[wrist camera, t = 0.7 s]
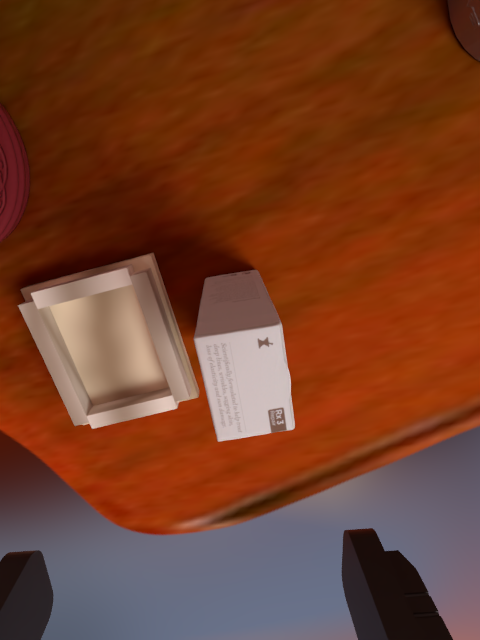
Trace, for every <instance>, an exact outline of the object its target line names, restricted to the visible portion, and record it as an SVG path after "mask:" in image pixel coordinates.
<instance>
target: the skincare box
mask: <svg viewBox="0 0 480 640" xmlns="http://www.w3.org/2000/svg"><path fill="white" fill-rule="evenodd" d="M194 343H195V347H196V351H197V355H198V359H199V363H200V368H201V372H202V376H203V380H204V385H205V389H206V394H207V398H208V402H209V407H210V411H211V415H212V419H213V424H214V428H215V432H216V436H217V441H225V440H232V439H238V438H245V437H251V436H256V435H262V434H269V433H274V432H280V431H286V430H293V429H294V428H295V422H294V414H293V406H292V398H291V381H290V373H289V370H288V367H287V358H286V351H285V343H284V337H283V329H282V323H281V321H280V319H279V316H278V314H277V312H276V309H275V307H274V305H273V303H272V301H271V299H270V297H269V295H268V292H267V290H266V288H265V285H264V283H263V281H262V279H261V277H260V274H259V272H258V271H257V270H250V271H244V272H238V273H231V274H225V275H219V276H213V277H208V278H206V279H205V281H204V286H203V292H202V298H201V303H200V308H199V314H198V320H197V327H196V331H195V335H194Z"/></svg>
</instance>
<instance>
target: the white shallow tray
mask: <svg viewBox="0 0 480 640" xmlns="http://www.w3.org/2000/svg"><path fill="white" fill-rule="evenodd" d="M20 290H21V292H22V295H23V297H24V299H25V301H26V302H24V303H22V304H20V305H18V306H19V309H20V311H21V313H22V315H23V317H24V319H25V321H26V323H27V326H28V328H29V330H30V332H31V334H32V336H33V338H34V340H35V342H36V345H37V347H38V349H39V351H40V353H41V355H42V357H43V359H44V362H45V364H46V366H47V368H48V370H49V372H50V374H51V376H52V379H53V381H54V383H55V385H56V387H57V389H58V391H59V393H60V396H61V398H62V400H63V402H64V404H65V406H66V408H67V410H68V412H69V415H70V417H71V419H72V421H73V423H74V425H75V426H77V425H81V424H83V425H86V424H90V425H91V427H92V429H94V428H98V427H102V426H106V425H110V424H114V423H119V422H123V421H127V420H131V419H135V418H139V417H144V416H148V415H152V414H156V413H160V412H164V411H169V410H173V409H177V407H178V403H179V402H181V401H185V400H189V399H194V398H198V397H199V389H198V386H197V383H196V379H195V376H194V373H193V370H192V367H191V364H190V361H189V358H188V355H187V352H186V349H185V346H184V343H183V340H182V337H181V334H180V331H179V328H178V325H177V322H176V319H175V316H174V313H173V310H172V307H171V304H170V301H169V298H168V295H167V292H166V289H165V286H164V283H163V280H162V277H161V274H160V271H159V268H158V265H157V262H156V259H155V256H154V253H150V254H146V255H143V256H139V257H135V258H131V259H128V260H124V261H120V262H116V263H112V264H109V265H105V266H101V267H97V268H94V269H90V270H86V271H82V272H79V273H75V274H71V275H67V276H64V277H60V278H56V279H52V280H49V281H45V282H41V283H37V284H34V285H30V286H27V287H24V288H22V289H20Z"/></svg>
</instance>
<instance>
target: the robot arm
mask: <svg viewBox="0 0 480 640" xmlns="http://www.w3.org/2000/svg"><path fill="white" fill-rule="evenodd" d="M448 9H449V15H450V21H451V24H452V26H453V29H454V32H455V34H456V37H457V38H458V40H459V41H460V43H461V44H462V46H463V47H464V49H465V50H466V51H467V52H468V53H470V54H471V55H472V56H473V57H474V58H475V59H477V60H479V61H480V0H448ZM342 555H343V556H342V581H343V588H344V593H345V597H346V601H347V604H348V608H349V611H350V614H351V617H352V621H353V624H354V627H355V631H356V634H357V637H358V640H453V639H452V637H451V635H450V633H449V631H448V629H447V627H446V625H445V623H444V621H443V619H442V618H441V616H439V614H438V610H437V608H436V606H435V604H434V602H433V600H432V598H431V597H430V596H429V595H428V591H427V589H426V587H425V585H424V583H423V581H422V579H421V577H420V575H419V573H418V572H417V570H416V568H415V567H414V566H413V565H412V564H411V563H410V562H409V561H408V560H407V559H406V558H405V557H404V556H403V555H402V554H401V553H400V552H399V551H398V550H397V551H384V549H383V546H382V544H381V542H380V540H379V538H378V536H377V534H376V532H375V531H374V530H373V529H372V528H370V529H357V530H345V531H344V535H343V554H342ZM52 606H53V590H52V586H51V583H50V579H49V575H48V572H47V568H46V565H45V561H44V558H43V554H42V553H41V551H23V552H10V553H8V554H6V555H5V556H4V557H3V558H2V560H1V561H0V640H41V637H42V635H43V633H44V630H45V628H46V626H47V623H48V621H49V618H50V615H51V611H52Z"/></svg>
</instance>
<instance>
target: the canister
mask: <svg viewBox="0 0 480 640" xmlns="http://www.w3.org/2000/svg"><path fill="white" fill-rule="evenodd" d="M29 191H30V169H29V162H28V157H27V153H26V150H25V146H24V143H23V141H22V138H21V136H20V133H19V131H18V129H17V127H16V125H15V123H14V121H13V120H12V118H11V117H10V115H9V113H8V112H7V111H6V109H5V108H4V106H3V105H2V104H1V103H0V242H2V241H3V240H4V239H5V238H7V237H8V236H9V235H10V234H11V233H12V231H13V230H14V229H15V228H16V226H17V225H18V223H19V222H20V220H21V218H22V216H23V214H24V211H25V209H26V206H27V202H28V198H29Z"/></svg>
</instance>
